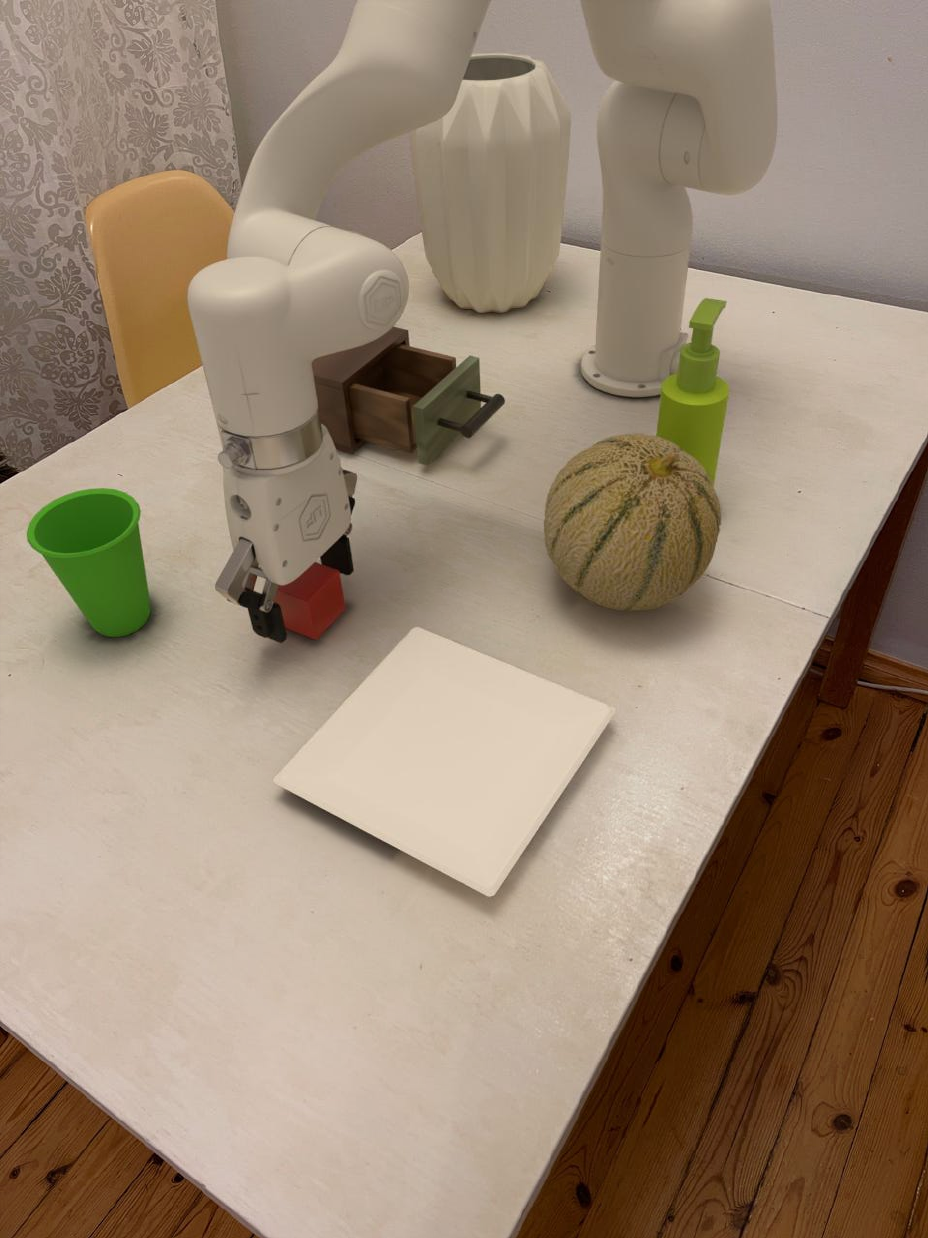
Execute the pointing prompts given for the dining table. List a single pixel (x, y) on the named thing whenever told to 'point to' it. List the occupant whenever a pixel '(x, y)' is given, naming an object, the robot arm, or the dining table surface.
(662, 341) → the robot arm
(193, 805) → the dining table surface
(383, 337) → the cabinet
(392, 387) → the drawer
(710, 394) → the soap dispenser
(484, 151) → the vase
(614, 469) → the cantaloupe
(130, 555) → the cup
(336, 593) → the block
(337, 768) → the plate
